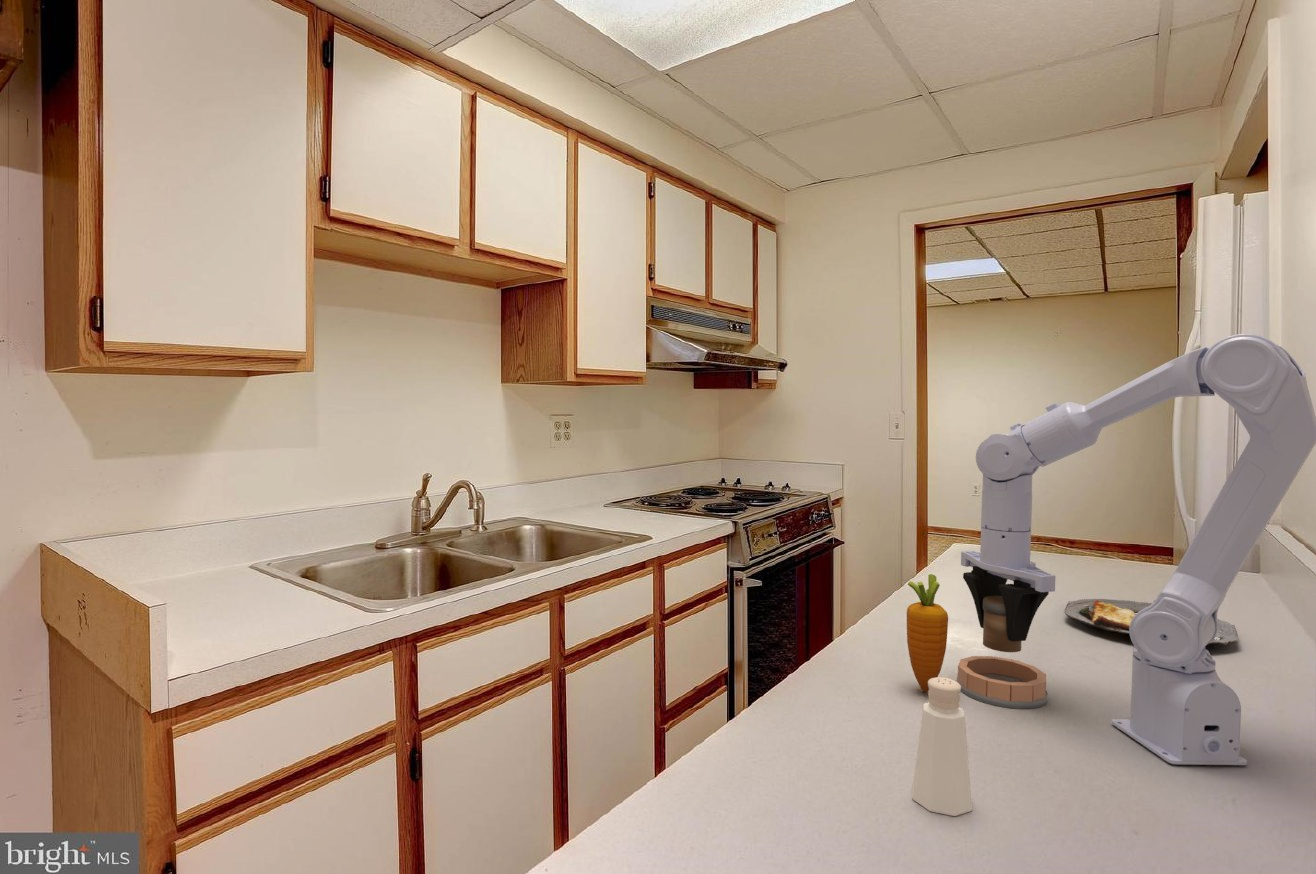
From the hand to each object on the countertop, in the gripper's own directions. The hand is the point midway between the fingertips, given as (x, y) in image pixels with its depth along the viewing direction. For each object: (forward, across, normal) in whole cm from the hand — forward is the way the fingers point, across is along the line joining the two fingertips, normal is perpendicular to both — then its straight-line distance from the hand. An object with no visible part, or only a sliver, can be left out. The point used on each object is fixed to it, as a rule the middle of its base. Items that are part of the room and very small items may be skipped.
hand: (1002, 633), depth 88 cm
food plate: (+8, +18, -43) cm, 47 cm away
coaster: (+8, 0, 0) cm, 8 cm away
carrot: (+8, +2, +10) cm, 13 cm away
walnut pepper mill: (+2, 0, 0) cm, 2 cm away
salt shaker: (+8, -20, +23) cm, 32 cm away
